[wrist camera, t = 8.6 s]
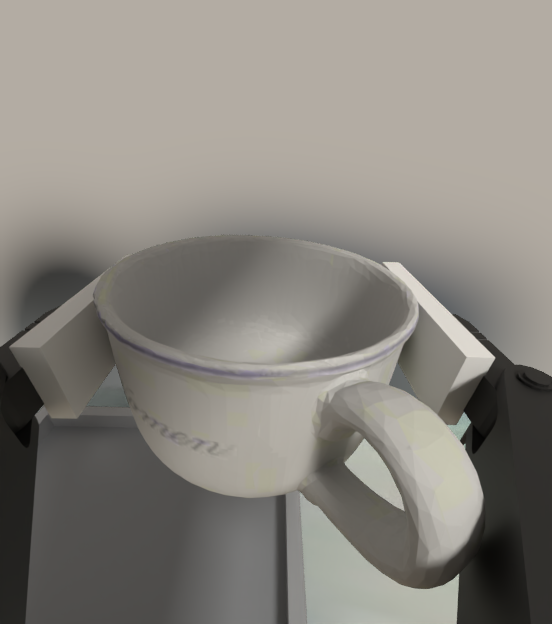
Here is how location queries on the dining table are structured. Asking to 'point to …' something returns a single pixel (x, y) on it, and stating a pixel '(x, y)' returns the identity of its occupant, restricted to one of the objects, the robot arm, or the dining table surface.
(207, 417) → the teacup
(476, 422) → the robot arm
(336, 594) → the dining table surface
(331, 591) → the dining table surface
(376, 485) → the dining table surface
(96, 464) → the tray
